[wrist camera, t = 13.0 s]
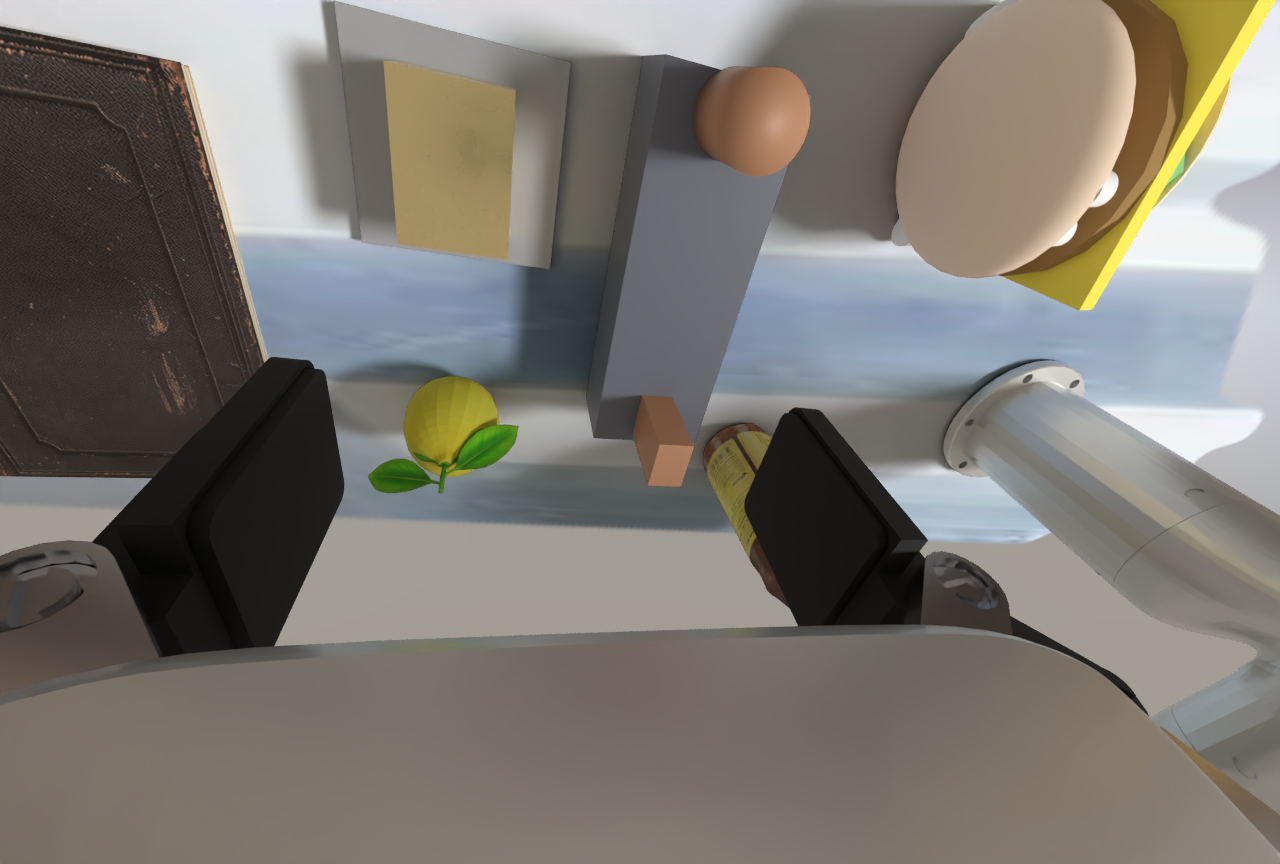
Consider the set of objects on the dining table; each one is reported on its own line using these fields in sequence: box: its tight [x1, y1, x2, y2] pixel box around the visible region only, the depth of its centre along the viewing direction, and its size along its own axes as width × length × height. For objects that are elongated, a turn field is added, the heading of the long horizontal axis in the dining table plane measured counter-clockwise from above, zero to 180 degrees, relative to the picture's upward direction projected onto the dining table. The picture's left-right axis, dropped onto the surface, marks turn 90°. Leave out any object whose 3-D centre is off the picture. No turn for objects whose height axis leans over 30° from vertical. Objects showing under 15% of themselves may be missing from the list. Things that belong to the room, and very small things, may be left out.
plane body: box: [586, 55, 812, 487], centre depth 27 cm, size 7×20×10 cm, turn 168°
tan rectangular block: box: [383, 61, 517, 260], centre depth 23 cm, size 5×7×4 cm
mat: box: [334, 1, 571, 269], centre depth 25 cm, size 10×10×1 cm
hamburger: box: [891, 0, 1276, 310], centre depth 24 cm, size 12×8×12 cm
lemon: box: [368, 376, 519, 493], centre depth 29 cm, size 7×6×10 cm
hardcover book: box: [0, 26, 268, 478], centre depth 25 cm, size 16×23×2 cm
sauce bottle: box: [703, 424, 790, 608], centre depth 33 cm, size 6×6×20 cm
